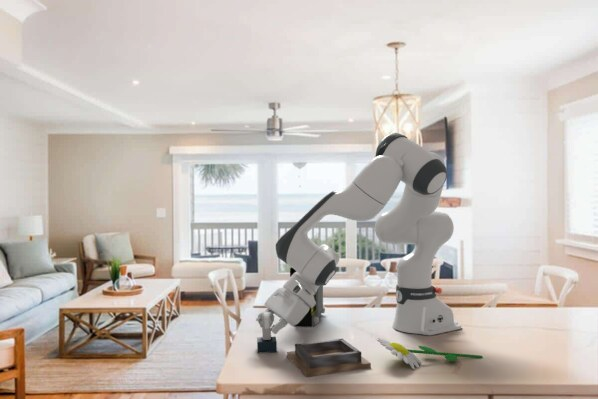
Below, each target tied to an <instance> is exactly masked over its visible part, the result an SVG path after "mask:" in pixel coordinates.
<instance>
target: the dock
mask: <svg viewBox="0 0 598 399" xmlns="http://www.w3.org/2000/svg"><path fill="white" fill-rule="evenodd" d="M286 356H287V357H288V359H289V360H290V361H291V362H292V363H293V365H295V366H296V367H297V368H298V370H299V371H300V372H301V373H302V374H303V375H304V376H305V378H307V377H314V376H321V375H329V373H330V374H335V373H336V372H337V373H342V372H350V371H357V370H365V369H369V368H371V367H372V364H371V361H369V360H368V359H366V358H364V357H363V356H362V351H360V350H359V349H358V348H357V347H355V346H353V345H352V344H350V343H349V342H348V341H347V340H345V339H344V338H335V339H326V340H320V341H319V340H318V341H311V342H304V343H295V345H294V350H291V351H286Z"/></svg>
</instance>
